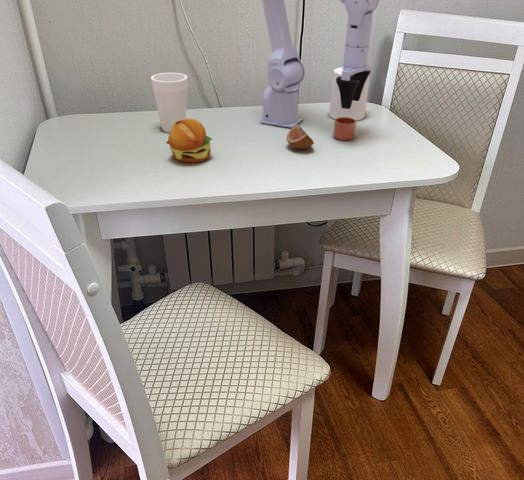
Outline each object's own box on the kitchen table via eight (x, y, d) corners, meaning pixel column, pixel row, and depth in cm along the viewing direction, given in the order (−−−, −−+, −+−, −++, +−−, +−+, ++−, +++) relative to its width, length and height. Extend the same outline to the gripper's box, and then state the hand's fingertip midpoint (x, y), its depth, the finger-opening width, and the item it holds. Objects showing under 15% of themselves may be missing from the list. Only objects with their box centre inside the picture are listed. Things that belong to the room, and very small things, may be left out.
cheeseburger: (219, 151, 137) (215, 113, 129) (203, 176, 131) (197, 139, 123) (183, 145, 139) (176, 108, 131) (165, 169, 134) (157, 132, 126)
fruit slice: (317, 153, 137) (319, 133, 134) (292, 155, 136) (293, 135, 133) (307, 141, 144) (308, 122, 140) (282, 143, 142) (283, 124, 139)
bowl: (330, 139, 146) (332, 122, 143) (337, 132, 149) (338, 116, 147) (350, 142, 144) (352, 125, 141) (356, 136, 148) (358, 119, 145)
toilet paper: (322, 116, 160) (326, 71, 152) (341, 108, 166) (345, 64, 158) (352, 123, 155) (358, 77, 147) (370, 115, 162) (376, 70, 154)
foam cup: (197, 127, 151) (194, 76, 142) (176, 136, 145) (172, 84, 136) (171, 120, 155) (166, 70, 146) (149, 129, 149) (143, 78, 140)
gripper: (364, 53, 126) (357, 114, 135) (381, 41, 136) (373, 99, 145) (335, 49, 128) (330, 110, 137) (354, 38, 138) (347, 95, 147)
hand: (350, 104), depth 141 cm, fingers open, 7 cm apart
